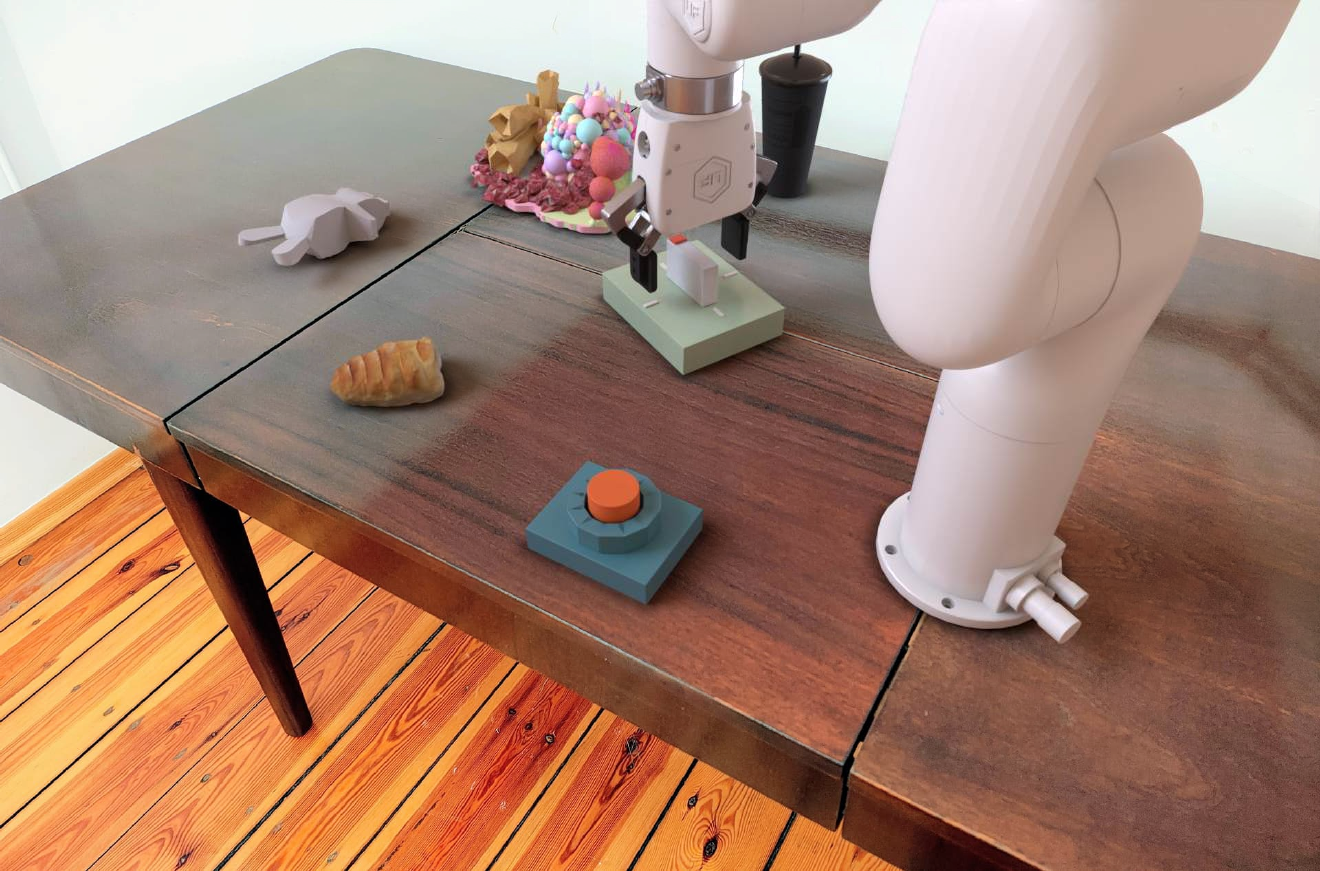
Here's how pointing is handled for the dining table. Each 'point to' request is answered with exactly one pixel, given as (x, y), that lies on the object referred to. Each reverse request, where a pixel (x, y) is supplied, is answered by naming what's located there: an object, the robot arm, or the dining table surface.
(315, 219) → the bunny figurine
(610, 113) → the pastel sphere sculpture
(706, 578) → the dining table surface
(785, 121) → the drinking cup
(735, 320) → the panel
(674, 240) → the white block with red
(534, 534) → the button block
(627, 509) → the button
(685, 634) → the dining table surface
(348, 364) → the pastry
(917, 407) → the dining table surface
